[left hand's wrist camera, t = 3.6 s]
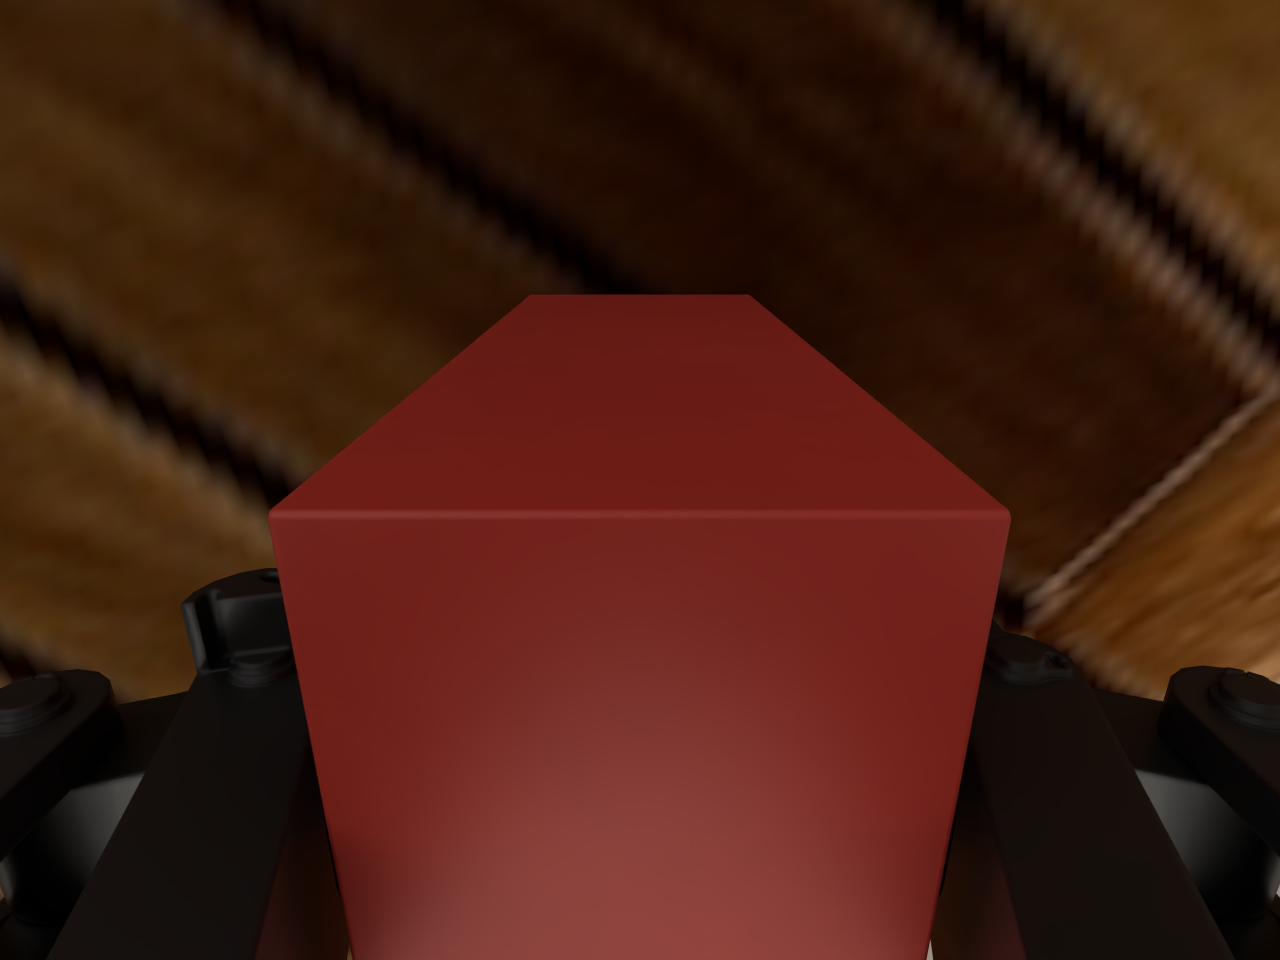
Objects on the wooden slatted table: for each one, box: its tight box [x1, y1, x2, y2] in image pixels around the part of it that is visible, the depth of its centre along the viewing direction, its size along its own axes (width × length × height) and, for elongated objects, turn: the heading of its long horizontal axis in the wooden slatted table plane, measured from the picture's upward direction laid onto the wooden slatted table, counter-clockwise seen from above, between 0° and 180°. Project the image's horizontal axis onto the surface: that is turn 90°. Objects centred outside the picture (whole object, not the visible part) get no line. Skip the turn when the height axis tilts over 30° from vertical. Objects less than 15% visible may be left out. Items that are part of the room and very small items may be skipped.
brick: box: [268, 295, 1011, 960], centre depth 11 cm, size 7×5×12 cm, turn 0°
